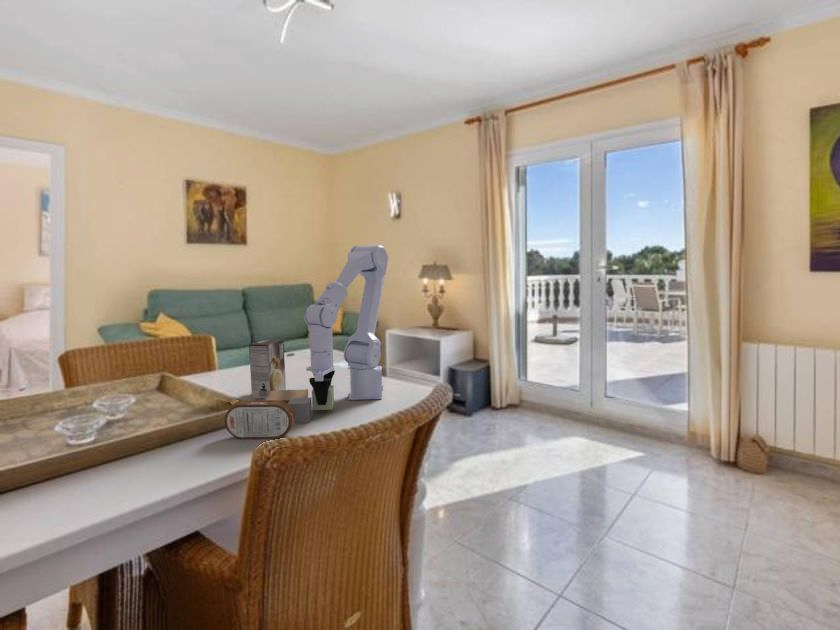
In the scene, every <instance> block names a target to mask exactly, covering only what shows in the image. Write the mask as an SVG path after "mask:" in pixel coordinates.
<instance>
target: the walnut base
mask: <svg viewBox="0 0 840 630" xmlns="http://www.w3.org/2000/svg"><path fill="white" fill-rule="evenodd" d="M291 398H309V389H308V388H306V389H286V390H279V391H271V392H270V393H269V395H268V396H267V398H266V399H264V400H279V401H283V402H285V403H287V404H288V402H289V401H290V399H291Z"/></svg>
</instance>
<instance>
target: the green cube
mask: <svg viewBox="0 0 840 630" xmlns="http://www.w3.org/2000/svg"><path fill="white" fill-rule="evenodd" d="M334 392H335V391H334V385H333V384H331V385H330V386H329V390H328V397H327V403H326V405H318V404H317V400H316V396H315V392H314V390H313V389H312V390H311V403H312V411H321V410H322V411H324V410H333V408H334V406H335V405H334V404H335V393H334Z"/></svg>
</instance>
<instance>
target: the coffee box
mask: <svg viewBox="0 0 840 630" xmlns="http://www.w3.org/2000/svg"><path fill="white" fill-rule="evenodd" d="M284 341H285V340H284V339H276V338H275V339H274V338H273V339H271V338H269V339H267V338H265V339H262V340H258V341H255V342H252V343H248V347H249V349H248V351H249V367H250V369H249V371H250V385H251V386H250V387H251V399H262V398H263V399H264V400H265V399H266V398H267V396H268V395H269V393H270V392H271V391H279V390H287V387H286V386H287V385H286V383H287V382H286V367H285V366H286V364H285V363H286V361H285V343H284ZM263 399H262V400H263Z"/></svg>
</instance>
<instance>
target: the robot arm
mask: <svg viewBox="0 0 840 630" xmlns="http://www.w3.org/2000/svg"><path fill="white" fill-rule="evenodd" d="M388 262H389V254H388V253H387V250H386V247H384V246H383V245H381V244H377V245H354V246H352V248H351V249H350V250H349V252H348V253H347V262H346V263H345V265H344V267H343V269H342V270H341V272H340V274H339V275H338V277H337V279H336V280H335V281H332V282H329V283H327V284H326V285H325V289H324V291H322V293H321V295H320V296H319V297H318V298H317V300H316V302H315V303H314V304H310V306H308V307H307V308H306V311H305V314H304V316H303V320H304V322H305V324H306V326H307V331H308V332H309V347H310V349H309V350H310V366H307V367H306V368H305V369H306V372H311V373H312V375H313V377H309V379H308V381H309V384H310V386H311V387H312V390H314V392H315V396H316V400H317V404H318V405H326V403H327V397H328V390H329V386H330V385H332V380H333V377H334V375H335V372H336V371H335V366H334V344H333V341H334V340H333V338H334V337H333V326H334V325H335V324H336V323H337V321H338V313H339V309H340V308H341V306H342V304H343V302H344V301H345V300H346V298H347V297H348V290H347V289H348V287H350V286H351V284H352V283H353V282H354V280H355V279H356V277H357V276H358V275H361V276H362V277H363V278H364V280H365V281H364V282H365V283H364V288H363V291H362V292H363V293H362V298H361V304H360V310H359V315H358V321H357V327H356V331H355V332H354V333H353V334H352V335H350V336H349V337H348V339H347V343H346V345H345V347H344V350H343V359H344V361H345V362H346V363H347V366H348V367H349V371H350V372H349V373H350V374H349V375H350V376H349V377H350V378H349V379H350V381H349V384H350V391H349V394H348V400H349V401H357V400H360V401H361V400H362V401H363V400H382V399H383V391H384V385H383V380H382V379H383V375H382V373H383V372H382V369H383V367H382V366H381V365H378V364H379V362H380V361H381V357H382V352H381V345H382V342H381V341H380V339H379V338H378V337H377V336H376V335H375V333H376V327H377V324H378V323H377V322H378V318H379V317H378V316H379V310H380V305H381V299H382V296H383V294H382V293H383V289H384V288H383V287H384V283H385V276H386V274H387V268H388Z"/></svg>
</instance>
